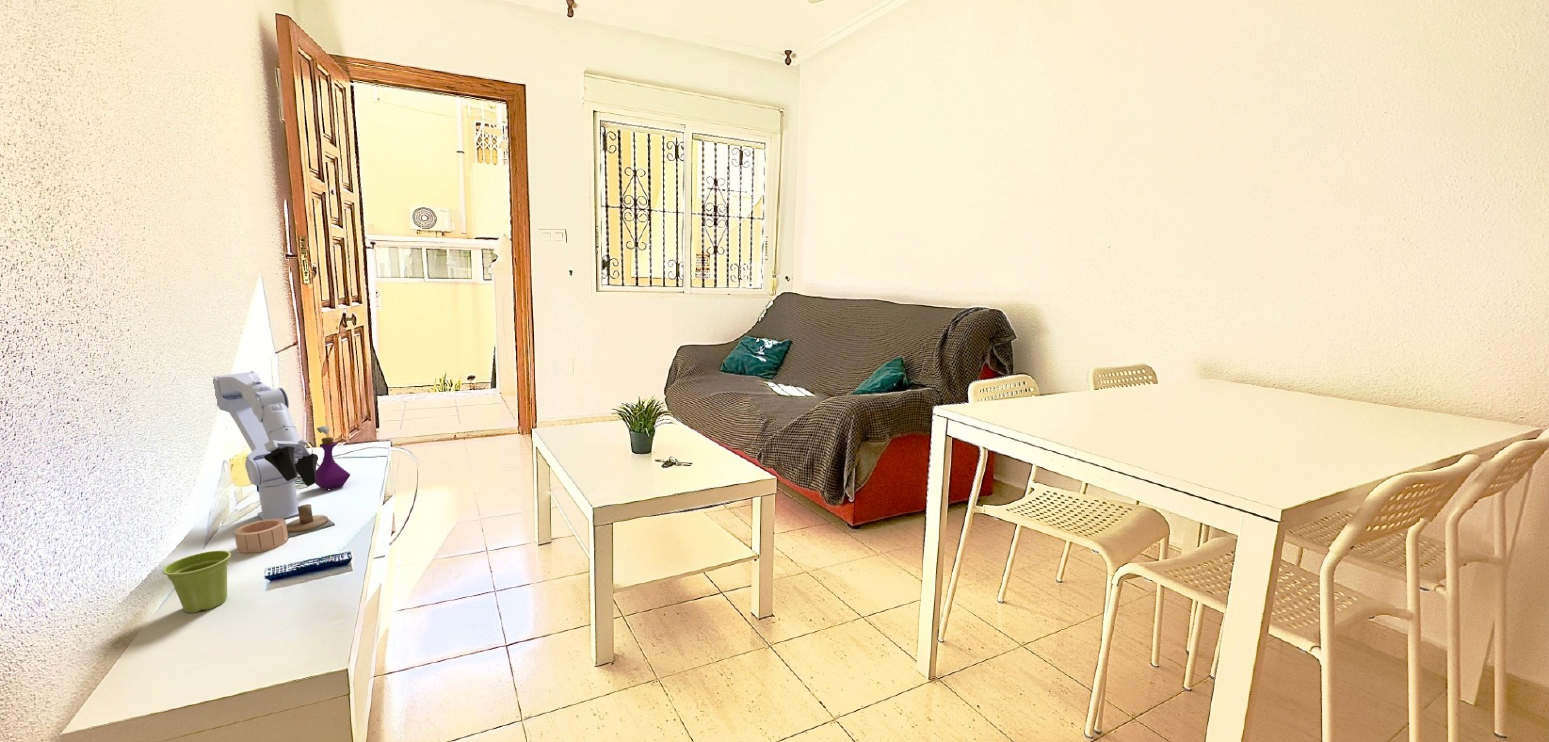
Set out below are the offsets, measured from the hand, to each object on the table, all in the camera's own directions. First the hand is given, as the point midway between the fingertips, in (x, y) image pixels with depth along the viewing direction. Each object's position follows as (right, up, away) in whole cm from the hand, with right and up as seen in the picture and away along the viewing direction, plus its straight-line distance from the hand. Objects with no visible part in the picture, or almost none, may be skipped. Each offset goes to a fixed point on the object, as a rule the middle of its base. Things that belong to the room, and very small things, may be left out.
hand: (302, 481), depth 150 cm
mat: (-2, -12, +5) cm, 13 cm away
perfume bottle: (-16, -8, +34) cm, 38 cm away
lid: (-2, -11, +5) cm, 13 cm away
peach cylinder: (-5, -14, -5) cm, 15 cm away
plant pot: (+5, -18, -31) cm, 36 cm away
